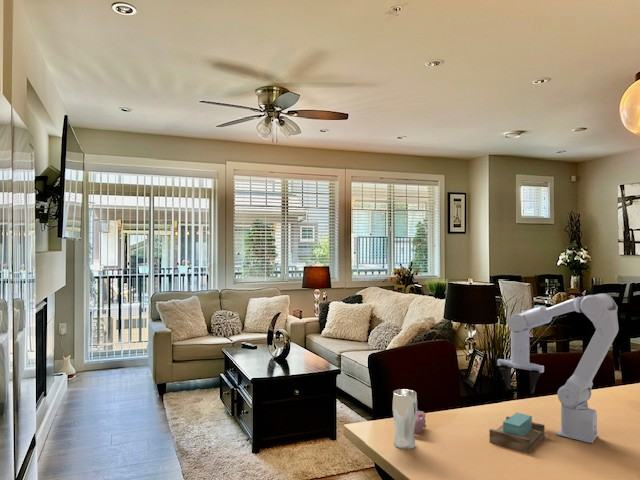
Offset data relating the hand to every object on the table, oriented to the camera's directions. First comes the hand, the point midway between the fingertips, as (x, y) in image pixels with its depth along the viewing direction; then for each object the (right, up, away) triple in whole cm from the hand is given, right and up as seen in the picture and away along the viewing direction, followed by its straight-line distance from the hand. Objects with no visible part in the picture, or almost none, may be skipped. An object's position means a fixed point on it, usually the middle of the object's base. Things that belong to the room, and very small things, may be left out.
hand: (520, 390), depth 157 cm
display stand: (-8, -9, -17) cm, 21 cm away
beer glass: (-42, -9, -22) cm, 48 cm away
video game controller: (-37, -9, -11) cm, 40 cm away
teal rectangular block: (-8, -7, -17) cm, 20 cm away
